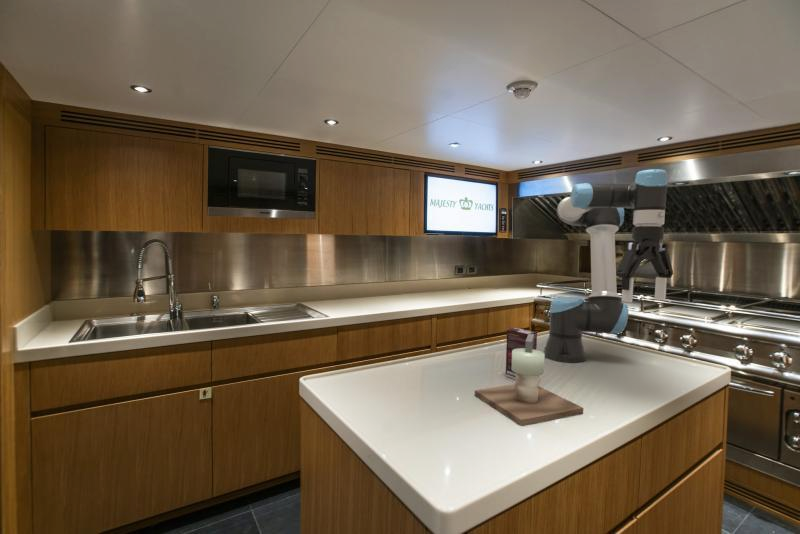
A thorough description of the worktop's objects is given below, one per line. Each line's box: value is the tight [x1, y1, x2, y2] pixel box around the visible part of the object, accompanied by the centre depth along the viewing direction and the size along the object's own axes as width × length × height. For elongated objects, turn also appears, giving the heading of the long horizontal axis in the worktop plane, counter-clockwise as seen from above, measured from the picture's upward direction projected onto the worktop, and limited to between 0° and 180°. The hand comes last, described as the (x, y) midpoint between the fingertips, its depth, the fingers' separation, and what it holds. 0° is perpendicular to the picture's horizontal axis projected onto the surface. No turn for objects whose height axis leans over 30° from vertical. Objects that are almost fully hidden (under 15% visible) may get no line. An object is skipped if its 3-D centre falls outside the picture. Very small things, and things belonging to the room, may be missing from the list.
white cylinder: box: [511, 334, 546, 377], centre depth 109 cm, size 14×8×8 cm, turn 158°
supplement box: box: [505, 327, 538, 381], centre depth 127 cm, size 9×5×16 cm, turn 35°
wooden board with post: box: [474, 373, 584, 427], centre depth 107 cm, size 20×20×9 cm
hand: (643, 300), depth 112 cm, fingers open, 13 cm apart
